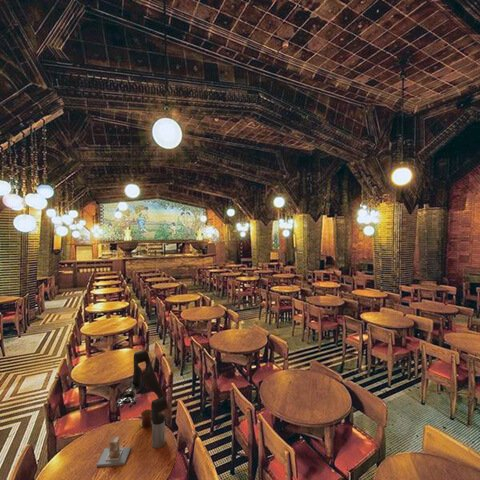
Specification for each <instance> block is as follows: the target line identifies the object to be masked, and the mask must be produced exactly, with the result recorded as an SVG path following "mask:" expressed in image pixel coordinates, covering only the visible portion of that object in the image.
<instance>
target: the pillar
mask: <svg viewBox="0 0 480 480" xmlns="http://www.w3.org/2000/svg"><path fill="white" fill-rule="evenodd" d="M108 443H109V444H108V445H109V447H108V448H109V458H117V457H118V454H119V447H120V436H112V437H111V438H110V441H109V442H108Z"/></svg>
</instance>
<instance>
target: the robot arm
mask: <svg viewBox="0 0 480 480" xmlns="http://www.w3.org/2000/svg"><path fill="white" fill-rule="evenodd" d="M141 363H145V370H144V374H143V370H142V368H141V367H140V365H139V364H141ZM142 375H143V376H142ZM142 377H143V379H142ZM143 382H144V384H145V386H146V388H147V389H149V390H150V391H151V392H153V393H154V394H155V395H156V396H157V398H156V399H154V400H152V401H151V405H150V410H151V413H152V416H151V417H152V423H151V446H152V448H154V449H159V448H162V447H164V446H165V443H166V416H165V414H164V413H162V412H164V411H165V410H167V409H168V407H169V405H168V400H167V398H166V396H165V394H164V392H163V390H162V388H161V385H160V383H159V380H158V377H157V374H156V372H155V369H154V368H153V364H152V362H151V358H150V354H149V352H148V350H147V349H142V350H139V351H136V352H134V354H133V374H132V380H130V381H129V388H128V389H127V391H126V393H125V394H124V396H123V398H118V399H117V401H116V403H115V405H116V409H117V410H119V409H120V407H121V406H124V405H129V406H128V407H129V409H131V408H132V407H133V405H135V406H136V404H137V402H138V397H137V393H138V391H140V389H142V387H143Z"/></svg>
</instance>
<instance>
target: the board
mask: <svg viewBox="0 0 480 480" xmlns="http://www.w3.org/2000/svg"><path fill="white" fill-rule="evenodd" d="M131 450H132V446H119V454H118V457H117V458H109V447H108V448H107V447H106V448H104V449H103V452H102V453H101V455H100V457H99V460H98V461H97V463H96V467H99V468H100V467H111V466H125V465H126V463H127V461H128V460H127V459H128V458H129V454H130V452H131Z"/></svg>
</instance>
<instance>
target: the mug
mask: <svg viewBox="0 0 480 480" xmlns="http://www.w3.org/2000/svg"><path fill="white" fill-rule="evenodd" d="M140 416H141V425H142V427H143V428H145V429H147V428H149V427H150V426H152V413H151V408H149V409H144V410H143V411H141V412H140Z"/></svg>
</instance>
